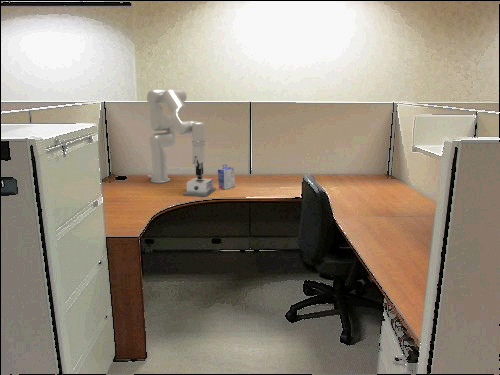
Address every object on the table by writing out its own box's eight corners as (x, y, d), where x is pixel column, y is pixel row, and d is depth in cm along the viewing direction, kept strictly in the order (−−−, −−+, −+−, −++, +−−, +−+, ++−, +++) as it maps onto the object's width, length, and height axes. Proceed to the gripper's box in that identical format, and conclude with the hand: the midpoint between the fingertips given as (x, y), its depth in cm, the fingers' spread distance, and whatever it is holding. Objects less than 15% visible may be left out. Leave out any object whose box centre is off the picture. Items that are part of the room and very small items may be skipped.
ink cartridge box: (228, 185, 278) (228, 163, 274) (235, 186, 274) (235, 164, 271) (217, 188, 270) (217, 165, 267) (224, 189, 267) (224, 166, 264)
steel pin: (196, 179, 258) (196, 162, 255) (198, 178, 261) (197, 161, 258) (201, 179, 257) (200, 162, 255) (203, 178, 260) (202, 161, 258)
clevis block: (183, 195, 254) (182, 183, 252) (194, 188, 271) (193, 176, 269) (206, 197, 251) (206, 184, 249) (216, 189, 268) (215, 178, 266)
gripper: (197, 141, 263) (198, 171, 267) (187, 145, 247) (188, 177, 251) (209, 141, 261) (210, 172, 265) (200, 145, 245) (201, 177, 250)
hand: (199, 174), depth 258 cm, fingers closed on steel pin, 3 cm apart
